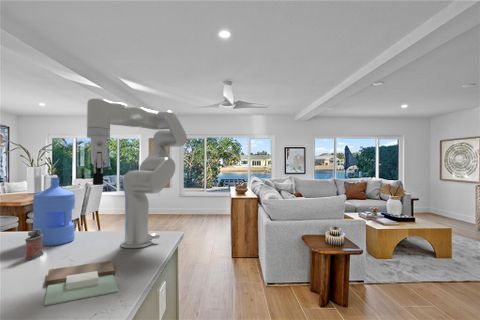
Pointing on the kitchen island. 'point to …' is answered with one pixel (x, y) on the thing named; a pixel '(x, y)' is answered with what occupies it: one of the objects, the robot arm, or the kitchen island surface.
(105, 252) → the kitchen island surface
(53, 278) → the riser
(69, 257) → the kitchen island surface
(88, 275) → the tile
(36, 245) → the lighter
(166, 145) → the robot arm
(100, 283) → the mat
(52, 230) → the water jug
